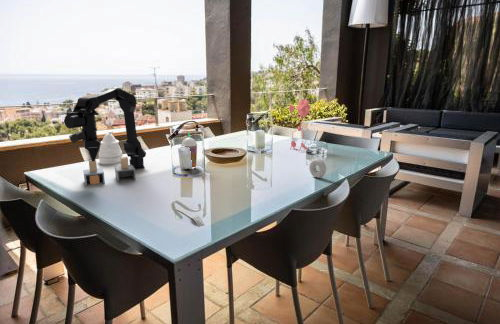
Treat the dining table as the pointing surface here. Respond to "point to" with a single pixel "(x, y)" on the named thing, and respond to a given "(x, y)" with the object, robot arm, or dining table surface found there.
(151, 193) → the dining table surface
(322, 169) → the donut
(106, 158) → the honey pot
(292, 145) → the figurine
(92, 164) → the blue-grey and tan block
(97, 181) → the letter cube
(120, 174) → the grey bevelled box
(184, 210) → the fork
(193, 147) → the smoothie
